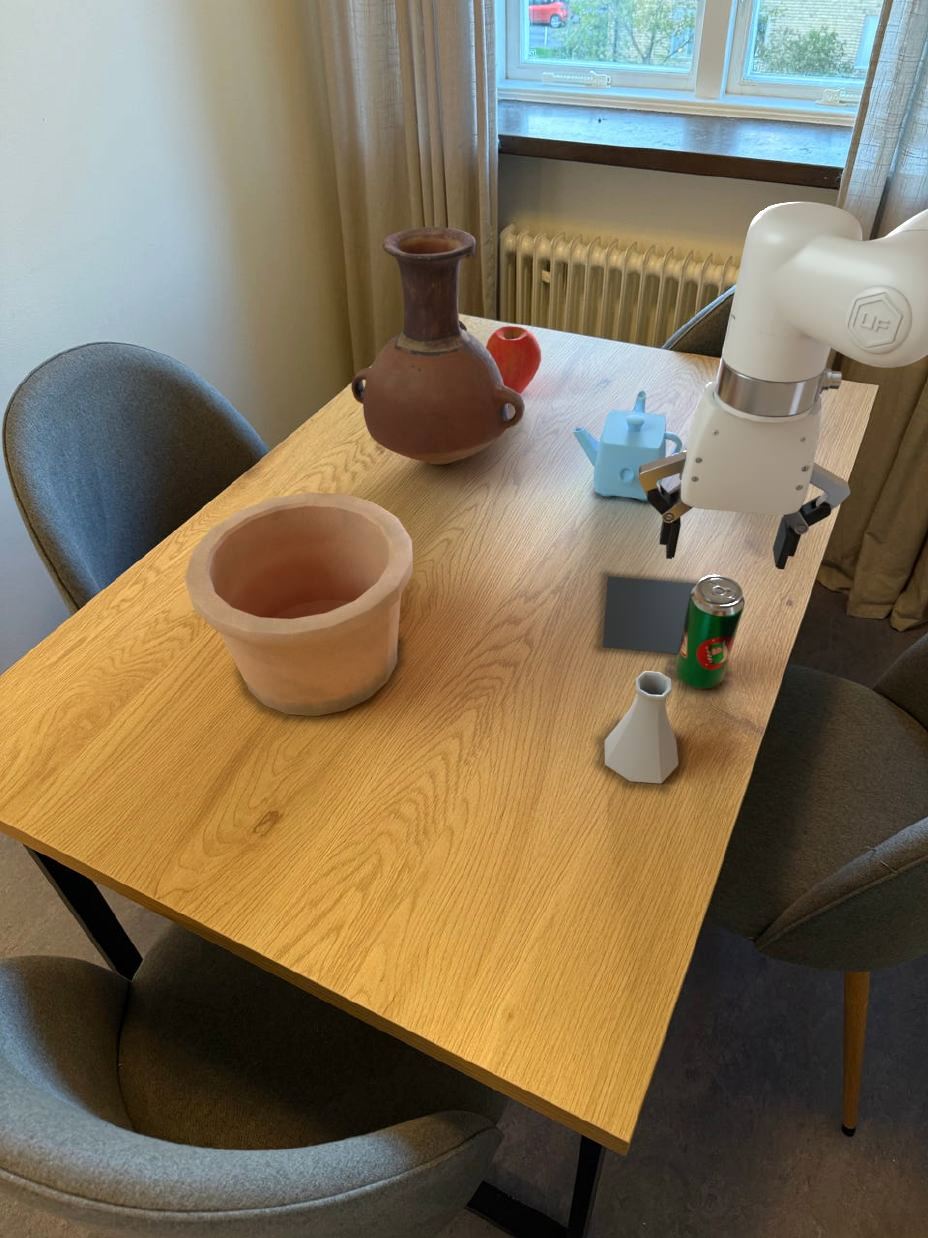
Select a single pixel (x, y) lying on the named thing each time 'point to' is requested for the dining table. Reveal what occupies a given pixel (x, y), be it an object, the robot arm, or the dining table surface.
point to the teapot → (626, 449)
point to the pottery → (306, 597)
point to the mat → (645, 614)
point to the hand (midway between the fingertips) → (723, 554)
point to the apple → (515, 356)
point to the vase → (434, 361)
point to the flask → (644, 734)
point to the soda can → (709, 631)
